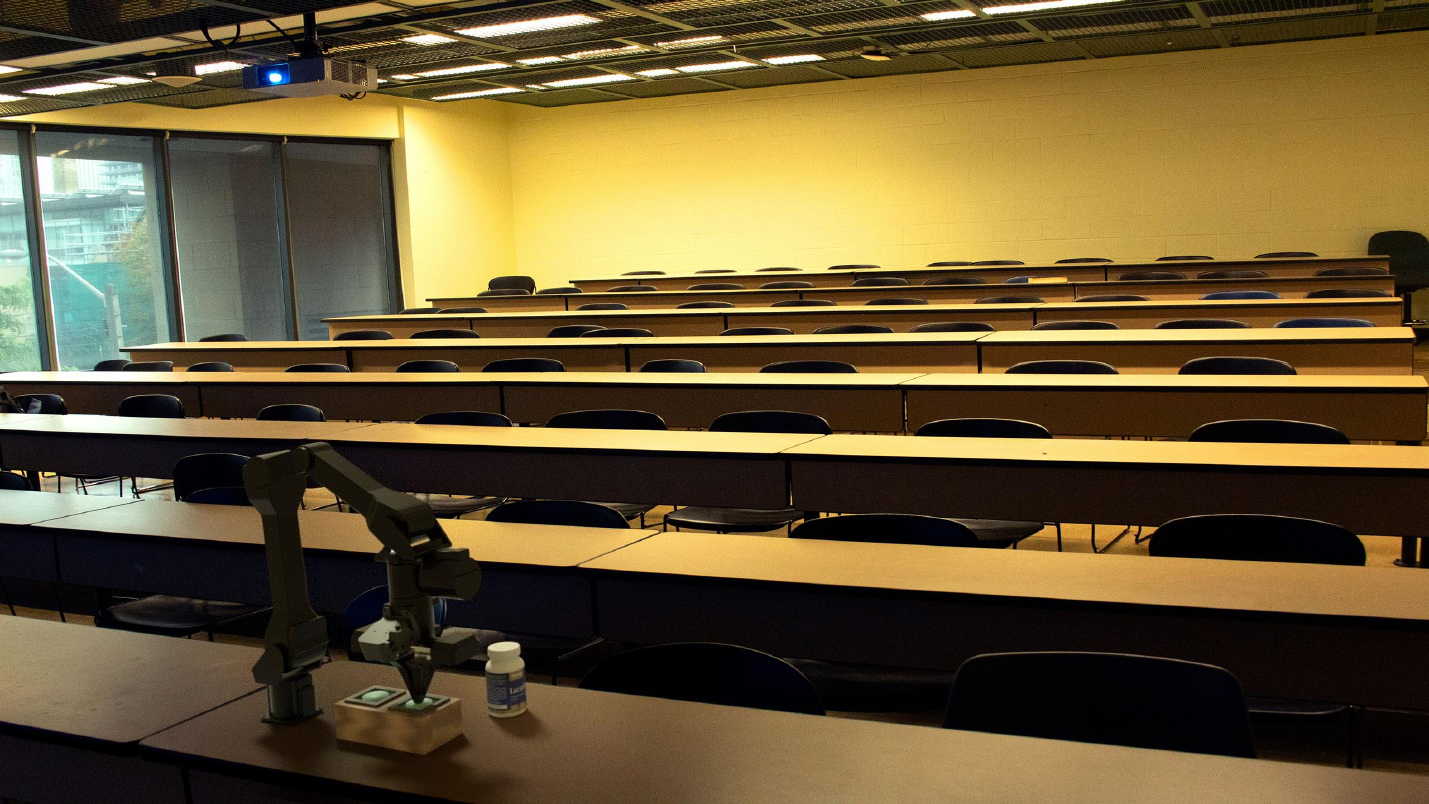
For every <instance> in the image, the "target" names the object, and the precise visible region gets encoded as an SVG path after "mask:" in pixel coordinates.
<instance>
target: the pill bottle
mask: <svg viewBox="0 0 1429 804" xmlns="http://www.w3.org/2000/svg"><path fill="white" fill-rule="evenodd" d="M520 654H521V645H520V644H519V642H514V641H502V642H496V643H493V644H490V645H489V646H488V647H487V657H488V658H489V660H488V661H487V662H486V665H485V682H486V684H485V685H486V687H485V688H486V706H487V711H488V712H487V713H488V714H489V715H490V716H492V717H496V718H501V719H503V718H505V719H506V718H512V717H516V716H520V715H521V714H524V712H525V711H526V710H527V707H528V706H527V705H528V704H527V703H528V702H527V688H526V669H525V668H526V667H525V662H524V661H525V660H523V658H521V657H520Z"/></svg>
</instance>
